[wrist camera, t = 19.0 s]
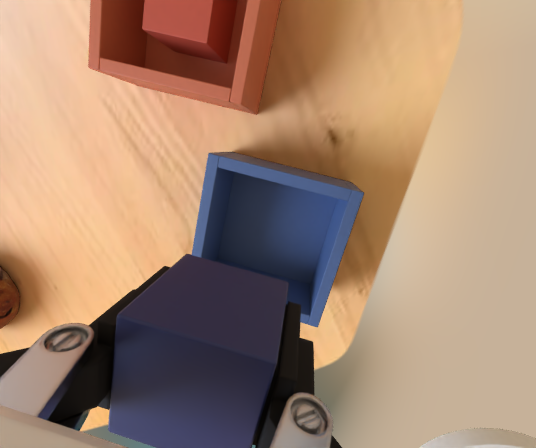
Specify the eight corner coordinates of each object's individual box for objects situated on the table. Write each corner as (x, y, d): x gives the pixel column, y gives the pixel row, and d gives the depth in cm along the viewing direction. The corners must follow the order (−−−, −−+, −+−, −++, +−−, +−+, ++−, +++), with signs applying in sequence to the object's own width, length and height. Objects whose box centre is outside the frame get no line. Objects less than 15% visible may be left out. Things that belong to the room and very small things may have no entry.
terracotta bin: (290, -41, 20) (282, -112, 14) (257, 114, 23) (241, 104, 17) (151, -68, 20) (95, -145, 15) (138, 86, 23) (87, 67, 18)
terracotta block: (238, -2, 20) (219, -42, 16) (227, 64, 21) (206, 43, 17) (182, -14, 20) (148, -56, 16) (174, 51, 22) (141, 29, 18)
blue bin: (351, 182, 23) (364, 192, 18) (316, 290, 26) (317, 327, 21) (231, 151, 24) (208, 152, 18) (210, 260, 27) (185, 288, 22)
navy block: (289, 281, 11) (277, 363, 7) (265, 365, 12) (242, 478, 8) (186, 252, 11) (115, 314, 7) (173, 337, 13) (106, 432, 8)
